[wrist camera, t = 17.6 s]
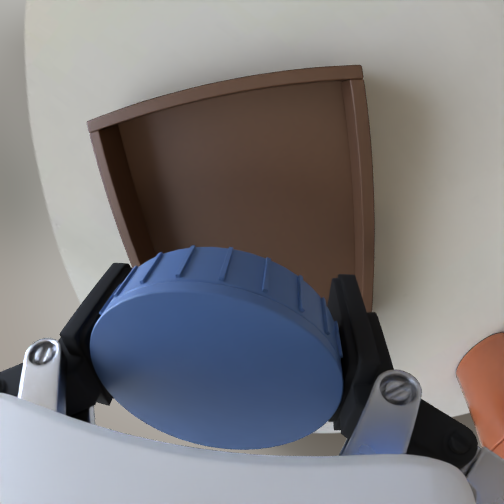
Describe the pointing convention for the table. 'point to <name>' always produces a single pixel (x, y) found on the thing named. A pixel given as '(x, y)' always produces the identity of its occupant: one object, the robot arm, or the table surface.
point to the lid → (220, 349)
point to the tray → (249, 172)
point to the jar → (485, 390)
